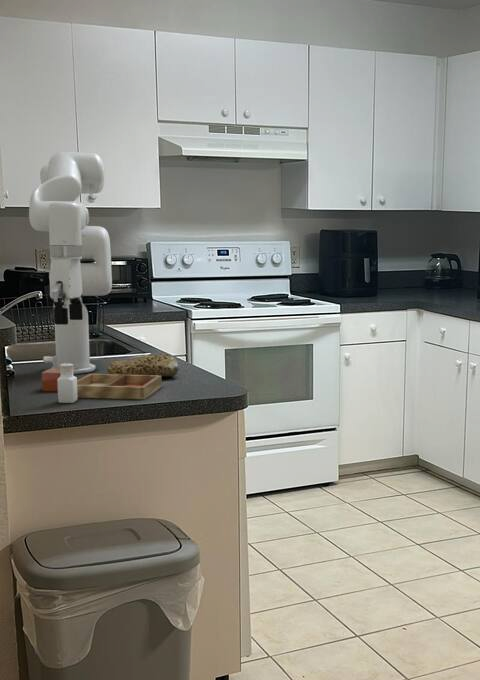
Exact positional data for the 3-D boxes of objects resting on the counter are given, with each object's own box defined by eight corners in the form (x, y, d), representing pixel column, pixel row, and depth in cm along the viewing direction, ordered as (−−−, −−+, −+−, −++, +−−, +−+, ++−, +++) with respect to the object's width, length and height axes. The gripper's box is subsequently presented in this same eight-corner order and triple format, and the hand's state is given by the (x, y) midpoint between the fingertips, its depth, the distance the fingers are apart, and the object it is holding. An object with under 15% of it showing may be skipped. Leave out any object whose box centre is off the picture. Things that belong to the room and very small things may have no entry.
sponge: (169, 376, 264) (101, 367, 256) (175, 351, 262) (106, 341, 254) (178, 393, 253) (107, 384, 245) (184, 367, 251) (113, 357, 243)
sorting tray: (67, 397, 230) (67, 385, 230) (90, 384, 246) (89, 373, 246) (144, 399, 229) (144, 387, 228) (161, 386, 245) (161, 375, 244)
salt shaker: (57, 403, 223) (56, 365, 222) (62, 400, 227) (60, 363, 226) (73, 403, 223) (72, 366, 222) (78, 400, 227) (76, 363, 226)
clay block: (42, 391, 238) (41, 372, 237) (49, 387, 243) (49, 369, 242) (60, 391, 237) (59, 372, 236) (67, 387, 242) (67, 369, 241)
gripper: (64, 251, 230) (67, 317, 232) (36, 254, 212) (40, 326, 215) (93, 251, 229) (95, 318, 232) (67, 254, 212) (70, 326, 215)
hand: (68, 322), depth 223 cm, fingers open, 9 cm apart
